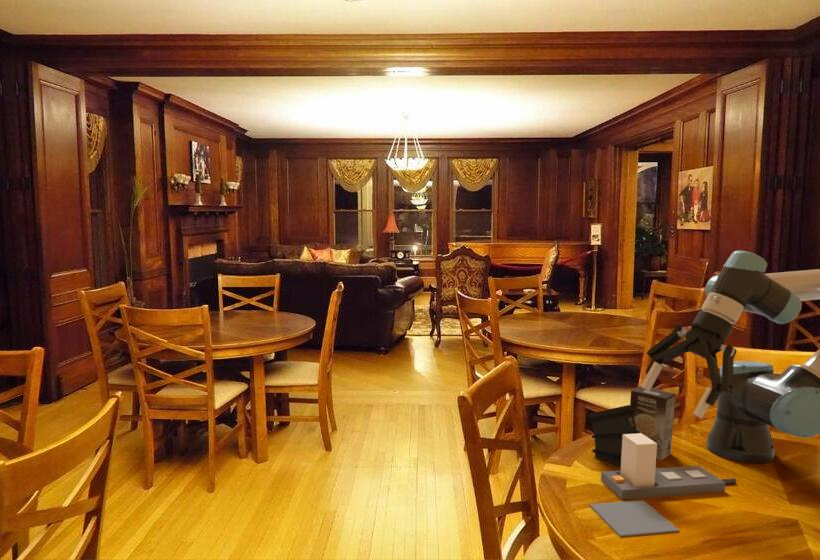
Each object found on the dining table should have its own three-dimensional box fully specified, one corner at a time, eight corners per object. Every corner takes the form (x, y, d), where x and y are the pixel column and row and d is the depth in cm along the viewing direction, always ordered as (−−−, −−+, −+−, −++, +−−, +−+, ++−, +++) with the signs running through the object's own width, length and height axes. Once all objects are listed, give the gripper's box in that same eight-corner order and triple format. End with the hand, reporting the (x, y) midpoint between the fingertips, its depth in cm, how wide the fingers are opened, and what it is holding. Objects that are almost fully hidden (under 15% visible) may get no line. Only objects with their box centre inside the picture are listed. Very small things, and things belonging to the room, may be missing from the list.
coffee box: (625, 451, 153) (628, 389, 151) (636, 445, 157) (640, 384, 155) (661, 462, 146) (666, 398, 144) (672, 455, 151) (676, 392, 149)
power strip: (721, 474, 140) (722, 461, 140) (749, 491, 131) (750, 478, 131) (600, 482, 135) (601, 469, 135) (621, 501, 126) (622, 487, 126)
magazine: (642, 473, 136) (621, 406, 140) (599, 477, 147) (580, 415, 151) (653, 469, 138) (632, 404, 142) (609, 474, 149) (591, 413, 153)
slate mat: (643, 503, 125) (643, 500, 125) (678, 534, 114) (679, 530, 114) (589, 507, 123) (589, 504, 123) (619, 539, 111) (620, 535, 111)
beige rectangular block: (638, 481, 135) (641, 433, 134) (653, 493, 129) (657, 443, 128) (619, 482, 134) (622, 434, 133) (634, 494, 128) (637, 444, 127)
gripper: (661, 294, 141) (617, 373, 141) (765, 330, 121) (713, 424, 121) (676, 306, 145) (633, 383, 146) (780, 343, 125) (729, 433, 125)
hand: (669, 402), depth 133 cm, fingers open, 13 cm apart
